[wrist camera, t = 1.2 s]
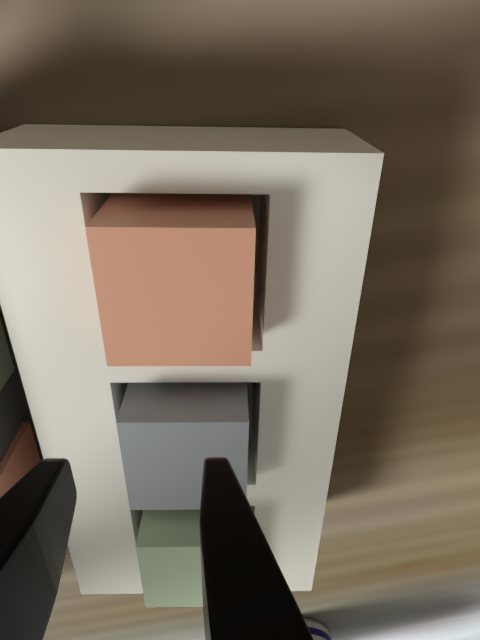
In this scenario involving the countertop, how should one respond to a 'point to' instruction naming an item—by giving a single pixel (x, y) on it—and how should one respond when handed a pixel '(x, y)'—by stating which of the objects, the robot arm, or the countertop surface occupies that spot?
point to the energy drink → (317, 630)
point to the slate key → (180, 439)
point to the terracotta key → (174, 278)
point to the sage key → (170, 558)
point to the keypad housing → (111, 381)
